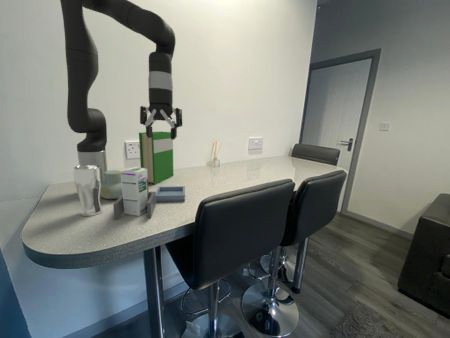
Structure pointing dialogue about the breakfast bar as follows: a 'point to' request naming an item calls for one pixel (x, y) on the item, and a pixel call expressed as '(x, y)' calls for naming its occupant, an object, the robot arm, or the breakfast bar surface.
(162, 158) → the hardback book
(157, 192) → the tray
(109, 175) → the air freshener
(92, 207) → the beer glass
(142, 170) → the syrup box
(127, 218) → the breakfast bar surface
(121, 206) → the dock
